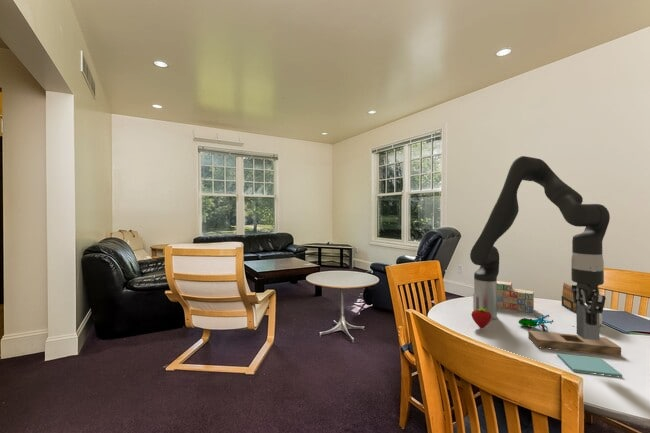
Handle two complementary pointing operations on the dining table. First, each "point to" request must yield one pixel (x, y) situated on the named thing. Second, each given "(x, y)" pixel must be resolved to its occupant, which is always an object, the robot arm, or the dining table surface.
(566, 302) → the brown flat upright panel
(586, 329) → the steel plug
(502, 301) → the stack of blocks
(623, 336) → the dining table surface
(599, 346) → the brown slotted block
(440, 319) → the dining table surface
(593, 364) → the teal pad
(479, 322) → the strawberry
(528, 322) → the stick construction toy
